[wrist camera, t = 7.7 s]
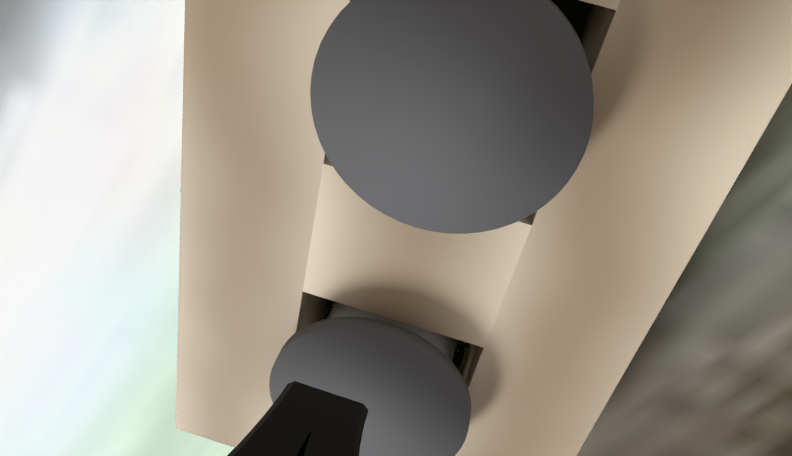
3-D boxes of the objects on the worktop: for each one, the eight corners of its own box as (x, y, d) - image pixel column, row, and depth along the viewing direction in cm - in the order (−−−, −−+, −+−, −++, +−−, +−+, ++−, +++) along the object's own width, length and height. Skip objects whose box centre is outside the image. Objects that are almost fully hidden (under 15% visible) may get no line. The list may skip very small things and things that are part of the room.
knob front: (627, -42, 15) (642, 13, 12) (546, 168, 19) (538, 264, 15) (389, -106, 16) (331, -71, 12) (350, 111, 19) (295, 191, 15)
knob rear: (509, 264, 20) (494, 370, 17) (462, 387, 24) (441, 499, 20) (332, 210, 21) (280, 303, 17) (309, 339, 24) (260, 439, 20)
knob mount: (817, -115, 14) (888, -84, 11) (532, 444, 25) (525, 542, 22) (274, -253, 15) (191, -263, 12) (226, 346, 26) (175, 428, 23)
